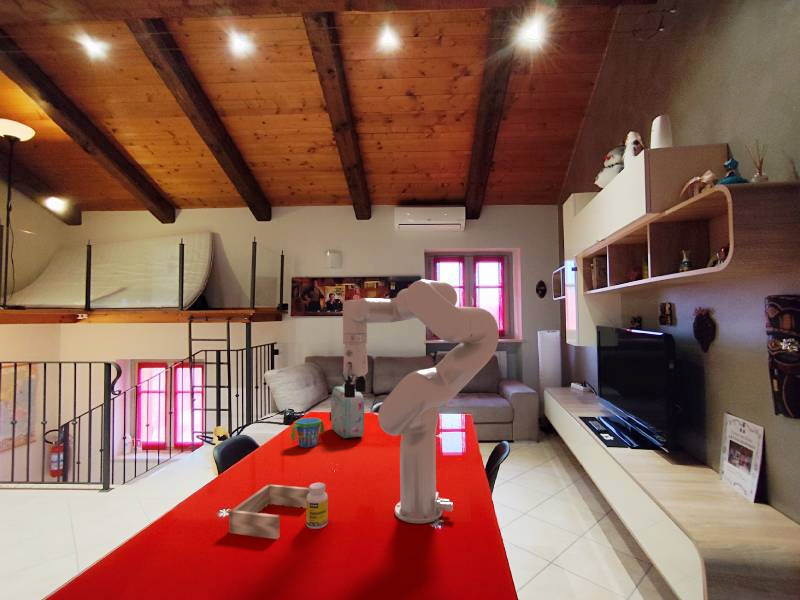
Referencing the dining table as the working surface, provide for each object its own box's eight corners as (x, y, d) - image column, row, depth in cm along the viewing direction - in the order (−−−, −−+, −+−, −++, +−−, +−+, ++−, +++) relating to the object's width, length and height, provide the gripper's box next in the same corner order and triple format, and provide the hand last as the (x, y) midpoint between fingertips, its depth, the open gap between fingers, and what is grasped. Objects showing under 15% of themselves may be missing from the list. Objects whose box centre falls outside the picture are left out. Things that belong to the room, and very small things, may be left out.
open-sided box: (309, 506, 111) (309, 488, 112) (277, 539, 95) (277, 517, 95) (267, 502, 115) (267, 484, 115) (229, 532, 98) (229, 511, 98)
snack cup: (317, 438, 176) (317, 415, 177) (331, 443, 169) (331, 419, 169) (284, 446, 165) (284, 421, 166) (297, 452, 158) (297, 426, 158)
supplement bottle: (306, 531, 99) (306, 490, 99) (305, 520, 104) (305, 482, 104) (328, 527, 100) (328, 488, 100) (326, 517, 105) (326, 480, 106)
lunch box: (327, 427, 194) (327, 383, 195) (348, 425, 199) (347, 381, 200) (343, 442, 170) (343, 391, 171) (366, 439, 174) (366, 389, 176)
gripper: (356, 340, 117) (357, 400, 116) (374, 338, 134) (375, 390, 133) (332, 340, 119) (333, 399, 118) (353, 338, 136) (353, 389, 135)
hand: (355, 394), depth 126 cm, fingers open, 9 cm apart
